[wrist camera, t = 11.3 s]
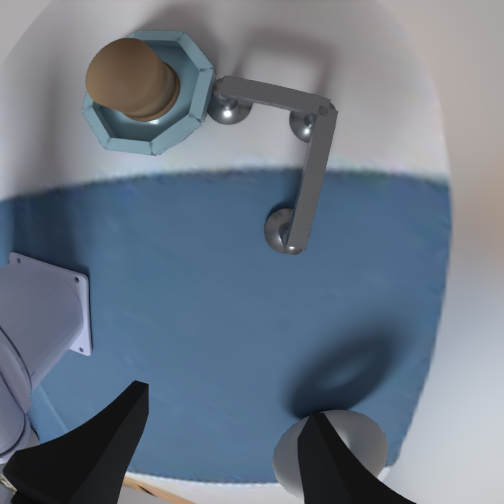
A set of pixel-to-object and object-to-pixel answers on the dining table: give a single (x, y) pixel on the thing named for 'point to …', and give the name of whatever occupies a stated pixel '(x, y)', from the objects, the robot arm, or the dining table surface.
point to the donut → (351, 432)
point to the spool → (132, 80)
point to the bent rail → (305, 128)
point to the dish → (182, 113)
